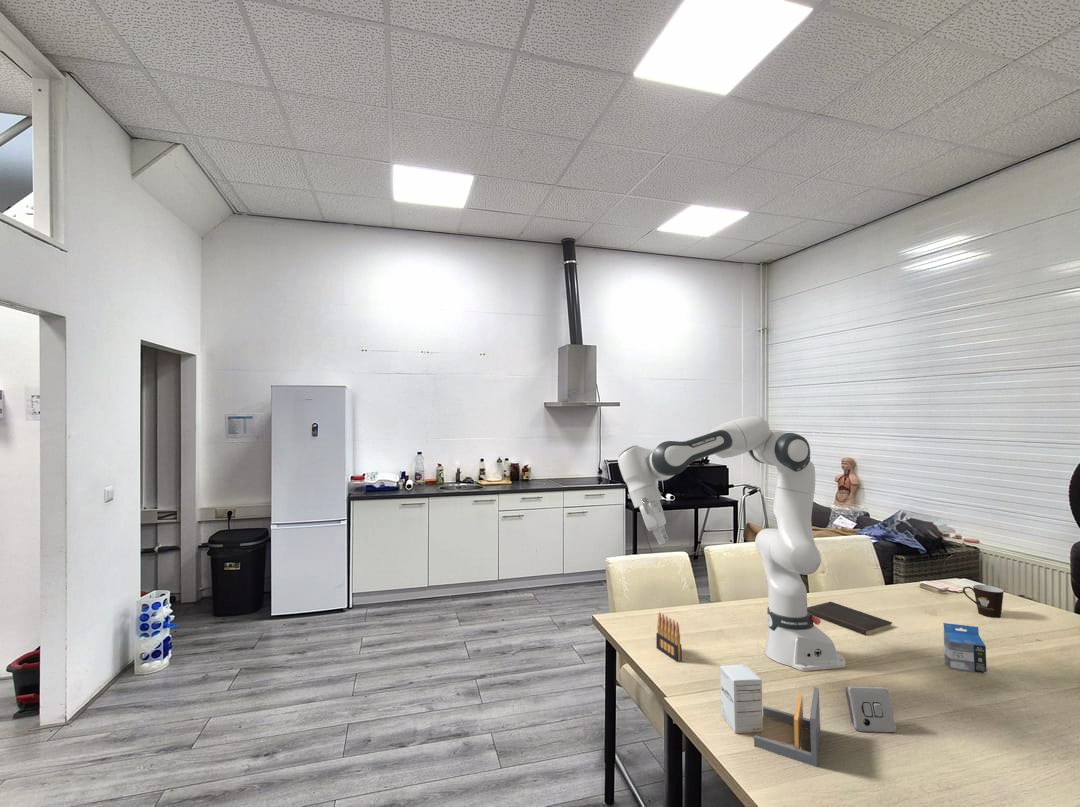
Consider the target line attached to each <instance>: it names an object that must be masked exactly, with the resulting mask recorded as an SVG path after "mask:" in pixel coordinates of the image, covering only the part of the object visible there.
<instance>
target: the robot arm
mask: <svg viewBox="0 0 1080 807" xmlns="http://www.w3.org/2000/svg"><path fill="white" fill-rule="evenodd" d="M746 453H748V454H749V456H751V458H752V459H754V460H755V461H756V462H759V463H761V464H765V465H770V466H774V467H776V469H777V473H778V474H777V475H778V476H777V479H776V480H777V481H776V487H775V493H774V499H773V506H772V512H773V514H774V516H775V519H776V525H777V528H774V527H773V528H772V527H771V528H770V527H769V528H763V529H762V530H760V531H758V533H757V534H756V536H755V540H754V541H755V542H754V543H755V547H756V548H755V549H756V550H757V551H758V553H759V555H760V559H761V562H762V566H763V569H764V572H765V573H764V574H765V577H766V582H767V595H768V597H767V598H768V599H767V600H768V607H767V609H766V610H767V613H766V614H767V617H766V619H767V620H766V621H767V626H768V631H767V637H766V638H767V640H766V643H765V648H764V654H765V655H766V656H767V657H768V658H769V659H771V660H773V661H775V662H777V663H779V664H782V665H785V666H789V667H792V668H794V669H796V670H799V671H802V672H808V671H818V670H819V671H820V670H831V669H842V668H846V666H847V665H846V660H845V659H844V657H843V656H842V655H841V654H840V653H838V652H837V648H836V646H835V644H834V642H833V640H832V639H831V638H830V636H828V635H827V634H826V633H824V631H822V630H821V629H820V628H818V627H817V626H818V625H820V624H821V622H822V621H821V620H822V619H820V618H818V617H816V616H813V615H812V614H810V613H809V612H807V607H808V593H807V592H808V591H807V590H808V589H807V587H806V585H805V583H804V582H803V580H802V577H801V575H804V576H805V575H806V576H808V575H812V574H814V573H815V572H817V571H818V570H819V568H820V567H821V564H822V556H821V553H820V551H819V548H818V547H817V546H816V543H815V539H814V533H813V526H812V525H813V524H812V514H813V513H812V512H813V505H814V499H815V491H816V467H815V465H814V463H813V462H812V461H811V447H810V443H809V442H808V440H807V439H806V438H805V437H803V436H802V435H800V434H798V433H794V432H785V431H772V430H771V428H770V425H769V424H768V422H767V420H766V419H765V418H763V417H761V416H759V415H749V416H747V415H746V416H743V417H739V418H738V417H737V418H735V419H733V420H729V421H726V422H724V423H721V424H720V425H717V426H715V427H714V428H712V429H711V430H709V432H708V433H707V434H704V435H701V436H697V437H694V438H692V439H688V440H685V441H679V440H667V441H663V442H661V443H659V444H658V445H657V446H656V447H655V448H646V447H641V446H639V445H632V446H629V447H628V448H626V449H625V450H623V451H622V452H621V453H620V454H619V455H618V459H617V463H618V464H617V465H618V467H619V468H618V469H619V470H620V474H621V477H622V479H623V482H625V484H626V486H627V490H628V494H629V497H630V500H631V501H632V505H633V506H634V507H633V508H634V509H637V508H638V509H639V511H640V513H641V516H642V520H643V523H644V525H645V527H646V529H647V530H648V532H651V531H652V534H653V536H654V537H655V539H656V541H657V542H658V545H659V546H660V545H664V544H665V543H666V542H667V541H669V537H668V535H667V530H666V526H665V525H666V524H667V520H666V515H665V512H664V509H663V506H662V503H661V500H662V499H663V497H662V494H661V491H660V489H659V486H658V485H657V483H656V481H660V482H661V481H667V480H669V479H671V478H673V477H674V476H675V475H679V474H681V473H683V472H684V470H686V469H687V468H688V467H689V466H690V465H691V463H693V462H695V461H698V460H701V459H704V458H707V457H709V456H713V455H715V456H716V457H717V458H718V457H719V458H721V459H726V458H727V459H728V458H731V457H736V456H740V455H743V454H746ZM814 624H815V625H817V626H815V625H814Z"/></svg>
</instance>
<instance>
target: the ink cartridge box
mask: <svg viewBox="0 0 1080 807" xmlns="http://www.w3.org/2000/svg"><path fill="white" fill-rule="evenodd" d="M957 629H958V630H957ZM959 629H962V630H959ZM963 630H966V631H963ZM979 630H980V629H979V627H978V626H974V625H973V626H972V625H964V624H956V623H947V622H943V652H944V653H943V654H944V655H943V656H944V657H943V658H944V664H945V665H946V666H947V667H948V668H949V669H950V670H955V671H962V672H970V673H978V674H985V675H987V674H988V670H987V669H988V667H987V650H986V649H987V647H986V644H985V643H984V641H983V639H982V638H981V636H980V634H979V633H980V631H979Z"/></svg>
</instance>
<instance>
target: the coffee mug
mask: <svg viewBox="0 0 1080 807" xmlns="http://www.w3.org/2000/svg"><path fill="white" fill-rule="evenodd" d="M966 589H970V590H972V591H973V593H974V598H975V600H974V599H973V598H972V597H970V596H969V595H968V594H967V592H966ZM962 592H963V594H964V596H965V597H967V598H968V599H969V600H970V601H972V602H973V603H974V604H976V609H977V612H978V614H979V615H981V616H984V617H986V618H987V617H988V618H991V619H992V618H993V619H1000V618H1002V610H1003V602H1004V590H1003V589H1002V588H999V587H996V586H992V585H987V584H986V585H985V584H973V585H972V587H971V586H964V587H962Z"/></svg>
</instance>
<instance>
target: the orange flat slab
mask: <svg viewBox="0 0 1080 807" xmlns="http://www.w3.org/2000/svg"><path fill="white" fill-rule="evenodd" d="M803 705H804V704H803V694H801V693H798V694H797V700H796V706H795V710H794V711H795V712H794V725H793V728H794V729H793V732H794V734H793V736H794V739H793V740H794V748H798V749H801V741H802V734H803V729H804V728H803V717H804V712H803V711H804V709H803V708H804V707H803Z"/></svg>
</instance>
